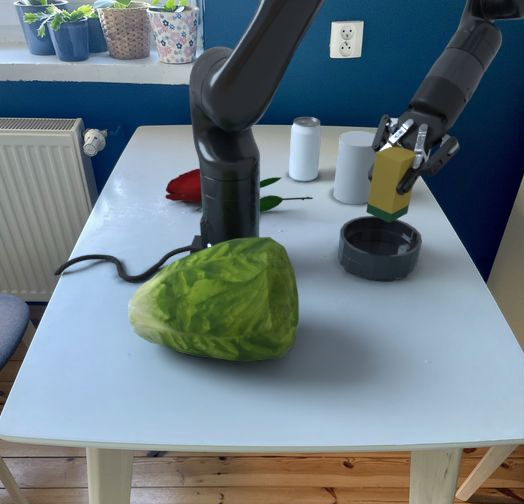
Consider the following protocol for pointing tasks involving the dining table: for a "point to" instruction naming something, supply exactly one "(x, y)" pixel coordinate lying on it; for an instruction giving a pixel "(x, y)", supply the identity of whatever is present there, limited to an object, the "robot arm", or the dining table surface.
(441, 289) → the dining table surface
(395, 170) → the sponge
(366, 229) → the bowl
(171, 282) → the lettuce
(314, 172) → the can
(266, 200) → the flower
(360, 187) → the light grey cylinder
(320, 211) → the dining table surface
